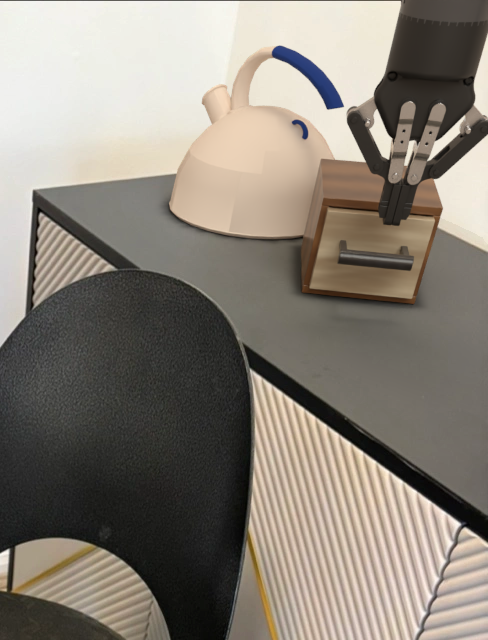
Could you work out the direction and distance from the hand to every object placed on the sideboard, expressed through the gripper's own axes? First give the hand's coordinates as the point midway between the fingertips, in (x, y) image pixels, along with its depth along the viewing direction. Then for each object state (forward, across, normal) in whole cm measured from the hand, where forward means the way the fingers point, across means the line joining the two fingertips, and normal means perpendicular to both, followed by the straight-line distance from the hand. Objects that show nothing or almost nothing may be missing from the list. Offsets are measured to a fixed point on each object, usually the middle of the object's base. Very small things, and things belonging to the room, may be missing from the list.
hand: (391, 222), depth 106 cm
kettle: (+10, -13, +33) cm, 37 cm away
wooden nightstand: (+10, -1, +14) cm, 18 cm away
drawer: (+9, -1, +10) cm, 14 cm away
